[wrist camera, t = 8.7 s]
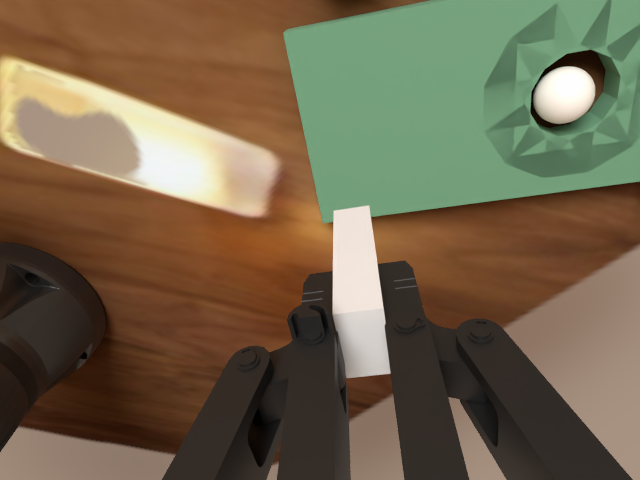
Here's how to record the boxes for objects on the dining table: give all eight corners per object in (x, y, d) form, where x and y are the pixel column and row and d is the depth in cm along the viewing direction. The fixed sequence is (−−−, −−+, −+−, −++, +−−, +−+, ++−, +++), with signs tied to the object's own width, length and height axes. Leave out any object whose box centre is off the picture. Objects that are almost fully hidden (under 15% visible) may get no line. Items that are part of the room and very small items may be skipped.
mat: (324, 211, 37) (321, 239, 33) (287, 29, 30) (277, 38, 26) (655, 166, 33) (694, 191, 29) (702, -55, 26) (761, -58, 22)
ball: (526, 117, 32) (538, 134, 29) (529, 65, 30) (542, 78, 27) (581, 110, 31) (599, 127, 28) (588, 57, 29) (607, 69, 26)
